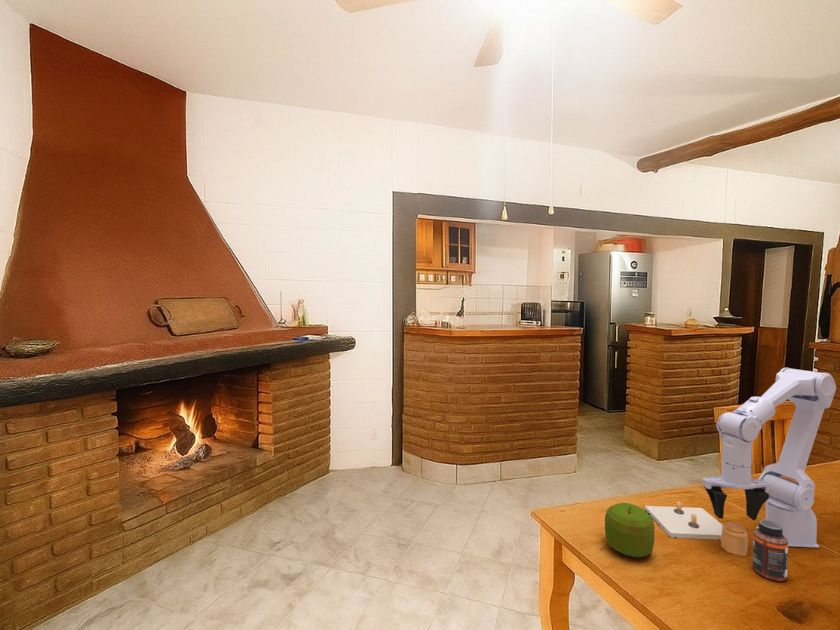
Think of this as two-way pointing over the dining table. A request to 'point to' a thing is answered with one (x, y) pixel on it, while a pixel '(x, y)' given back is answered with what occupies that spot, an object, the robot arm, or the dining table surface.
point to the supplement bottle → (770, 551)
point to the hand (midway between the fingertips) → (734, 517)
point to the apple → (629, 530)
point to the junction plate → (686, 522)
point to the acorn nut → (734, 539)
